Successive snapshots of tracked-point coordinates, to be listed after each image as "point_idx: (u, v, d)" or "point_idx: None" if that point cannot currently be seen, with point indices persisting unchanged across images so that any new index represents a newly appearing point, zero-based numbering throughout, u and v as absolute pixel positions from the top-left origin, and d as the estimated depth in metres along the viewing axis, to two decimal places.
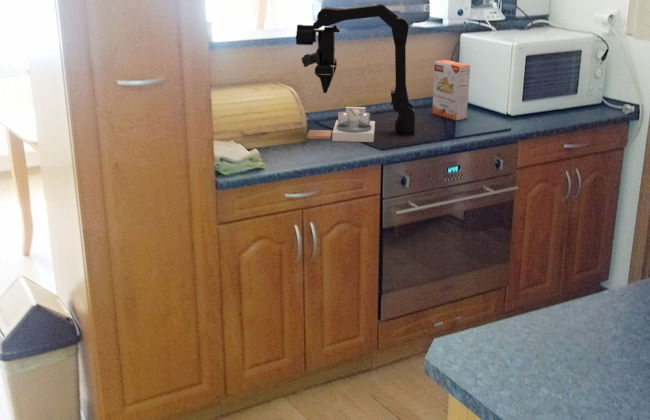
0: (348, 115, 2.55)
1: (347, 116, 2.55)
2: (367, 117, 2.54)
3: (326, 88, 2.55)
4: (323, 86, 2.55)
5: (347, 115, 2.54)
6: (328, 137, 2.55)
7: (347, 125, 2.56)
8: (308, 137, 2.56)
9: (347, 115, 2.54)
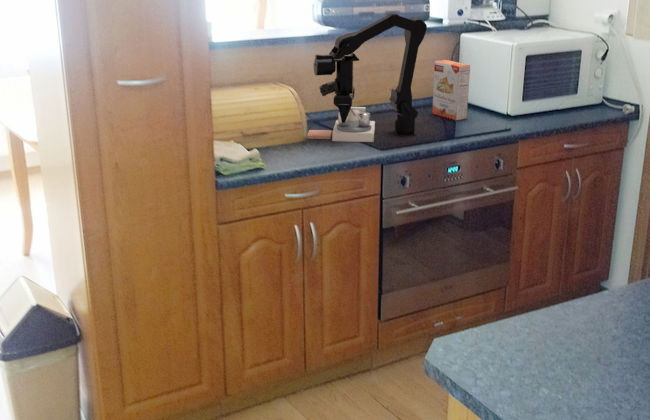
0: (348, 115, 2.55)
1: (347, 116, 2.55)
2: (367, 117, 2.54)
3: (345, 118, 2.51)
4: (342, 116, 2.51)
5: None
6: (328, 137, 2.55)
7: (347, 125, 2.56)
8: (308, 137, 2.56)
9: None
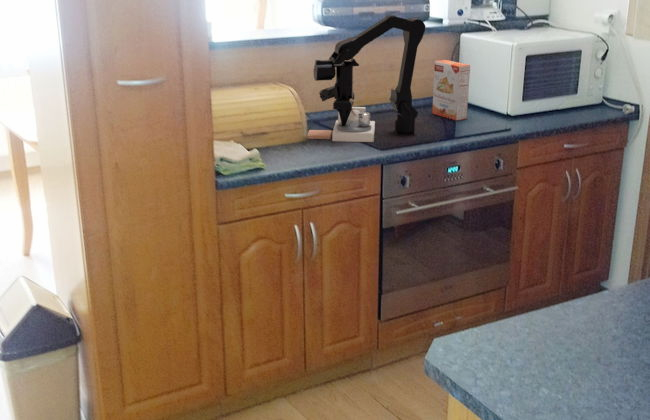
0: None
1: None
2: (367, 117, 2.54)
3: (345, 121, 2.54)
4: (342, 119, 2.53)
5: None
6: (328, 137, 2.55)
7: (347, 125, 2.56)
8: (308, 137, 2.56)
9: None
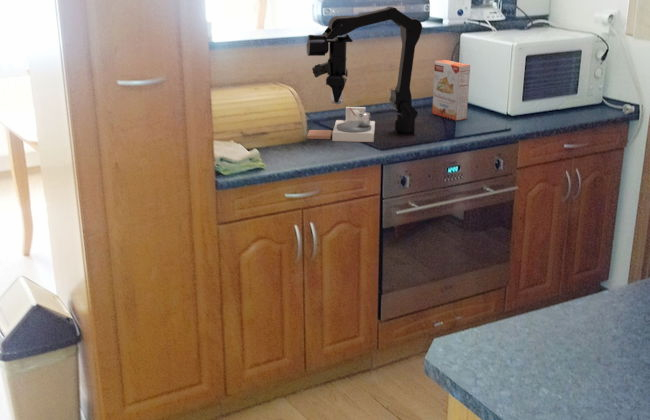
0: None
1: None
2: (367, 117, 2.54)
3: (338, 98, 2.51)
4: (335, 96, 2.51)
5: None
6: (328, 137, 2.55)
7: (340, 102, 2.53)
8: (308, 137, 2.56)
9: None
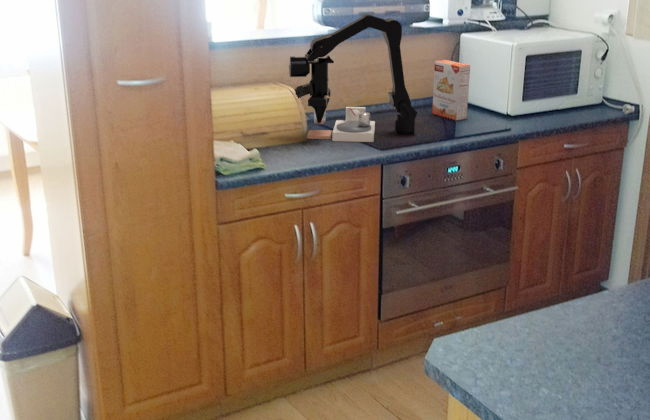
0: None
1: None
2: (367, 117, 2.54)
3: (320, 118, 2.54)
4: (317, 116, 2.54)
5: None
6: (328, 137, 2.55)
7: (323, 122, 2.56)
8: (308, 137, 2.56)
9: None
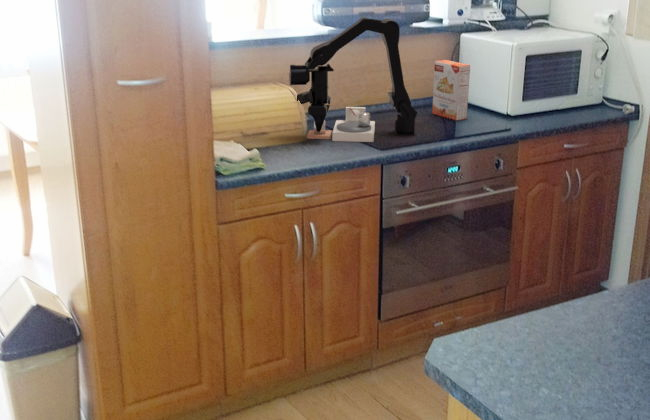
0: None
1: None
2: (367, 117, 2.54)
3: (320, 127, 2.54)
4: (317, 125, 2.53)
5: (323, 123, 2.56)
6: (328, 137, 2.55)
7: (323, 132, 2.57)
8: (308, 137, 2.56)
9: None
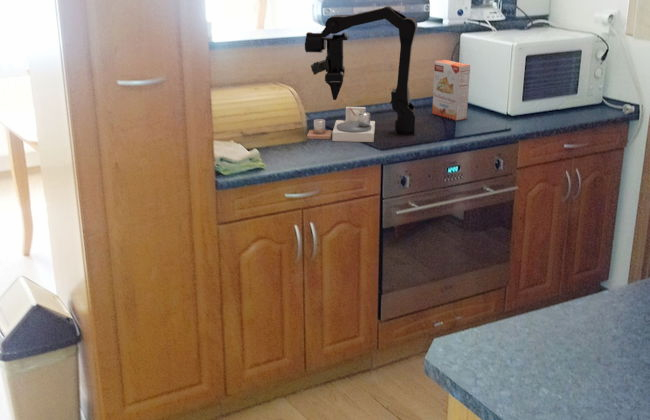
0: (323, 122, 2.56)
1: (322, 123, 2.56)
2: (367, 117, 2.54)
3: (336, 95, 2.58)
4: (333, 93, 2.58)
5: (322, 123, 2.56)
6: (328, 137, 2.55)
7: (322, 132, 2.57)
8: (308, 137, 2.56)
9: (322, 122, 2.56)
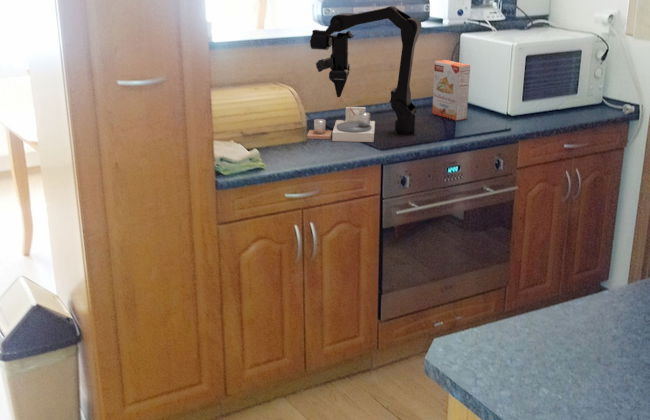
0: (323, 122, 2.56)
1: (322, 123, 2.56)
2: (367, 117, 2.54)
3: (340, 92, 2.61)
4: (337, 90, 2.61)
5: (323, 123, 2.56)
6: (328, 137, 2.55)
7: (322, 132, 2.57)
8: (308, 137, 2.56)
9: (322, 122, 2.56)
